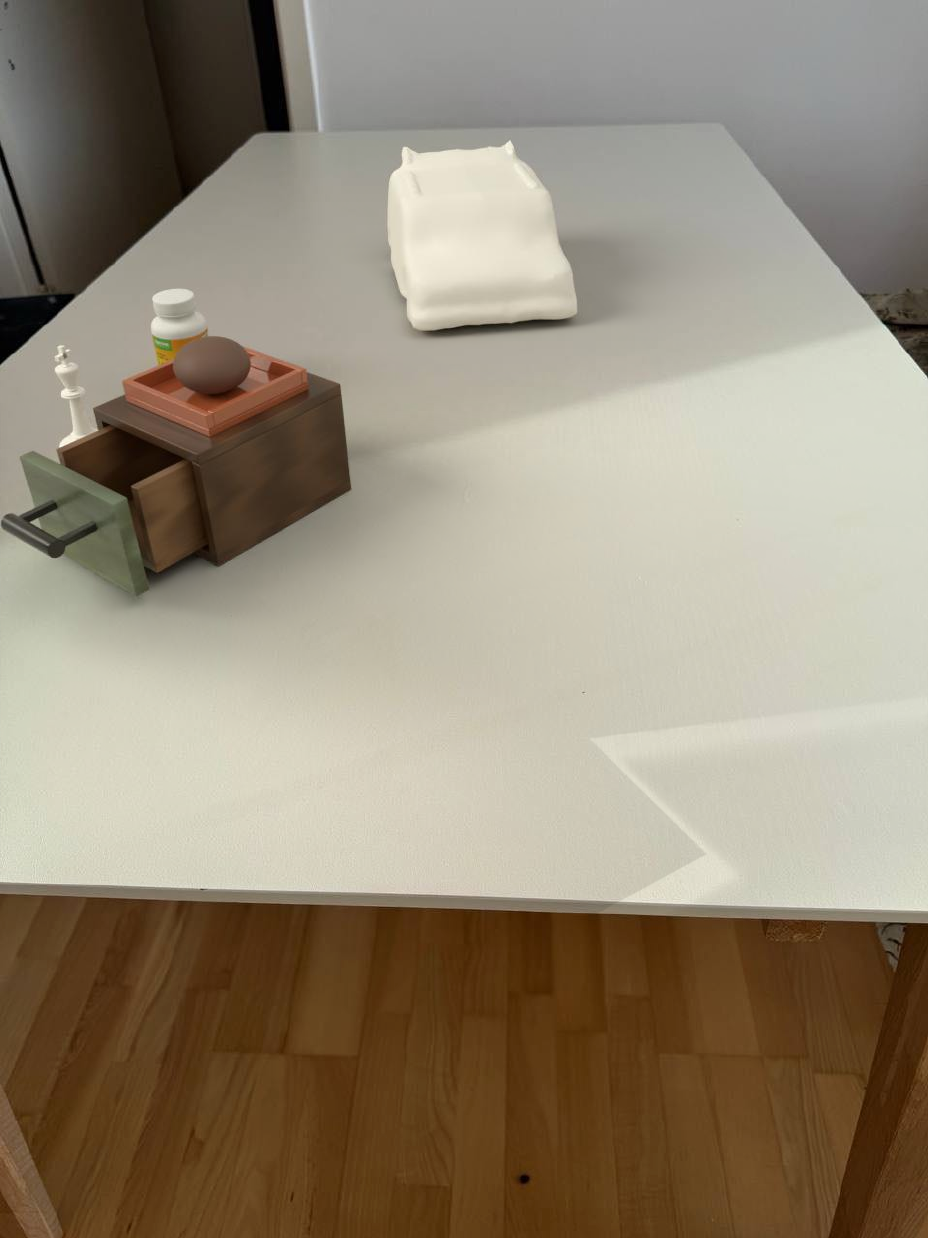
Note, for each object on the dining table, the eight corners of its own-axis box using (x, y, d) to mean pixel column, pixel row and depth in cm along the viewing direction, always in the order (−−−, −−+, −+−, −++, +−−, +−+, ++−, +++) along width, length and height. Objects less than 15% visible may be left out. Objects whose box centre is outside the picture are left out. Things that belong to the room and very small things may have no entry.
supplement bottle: (155, 399, 109) (135, 304, 104) (175, 376, 114) (157, 284, 108) (206, 402, 109) (189, 307, 103) (224, 378, 113) (209, 286, 107)
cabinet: (219, 566, 85) (197, 454, 79) (119, 514, 92) (92, 407, 86) (351, 489, 94) (340, 383, 88) (251, 446, 101) (235, 345, 95)
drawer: (88, 624, 78) (60, 530, 73) (-2, 568, 84) (-32, 478, 79) (273, 518, 89) (259, 431, 84) (181, 476, 95) (164, 392, 90)
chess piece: (48, 456, 100) (19, 353, 94) (82, 432, 104) (56, 332, 98) (92, 465, 99) (65, 361, 93) (125, 440, 102) (101, 339, 96)
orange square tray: (210, 437, 81) (206, 415, 80) (126, 401, 87) (121, 380, 86) (308, 389, 88) (306, 368, 87) (225, 358, 93) (221, 338, 92)
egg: (265, 393, 86) (258, 344, 83) (193, 412, 83) (183, 362, 81) (237, 366, 90) (229, 319, 88) (167, 384, 88) (158, 336, 85)
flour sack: (529, 240, 145) (530, 132, 137) (582, 326, 121) (587, 202, 113) (385, 251, 143) (377, 142, 135) (410, 341, 119) (403, 215, 111)
